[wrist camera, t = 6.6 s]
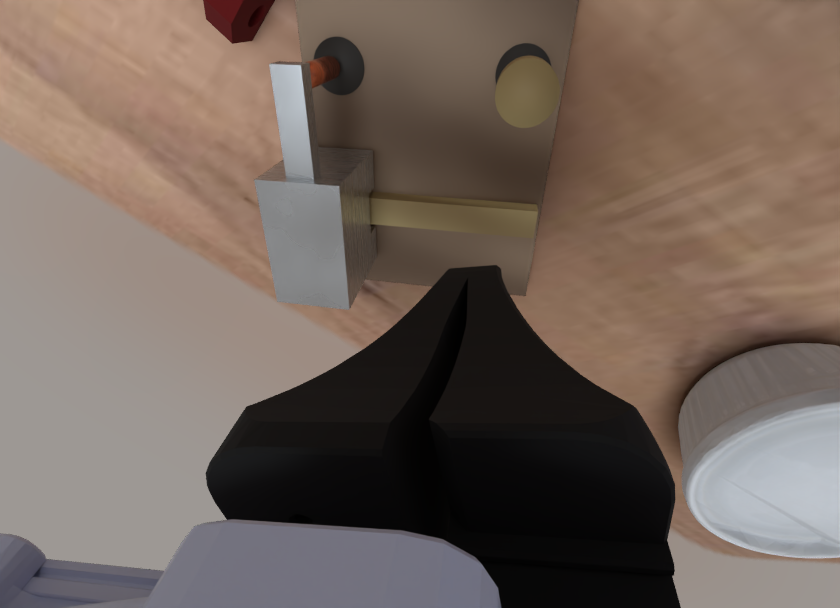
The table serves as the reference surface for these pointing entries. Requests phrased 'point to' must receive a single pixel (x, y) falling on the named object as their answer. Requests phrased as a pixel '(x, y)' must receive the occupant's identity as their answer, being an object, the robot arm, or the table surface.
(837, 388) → the ramekin
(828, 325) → the table surface
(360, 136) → the board
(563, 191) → the table surface
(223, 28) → the bracket
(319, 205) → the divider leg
